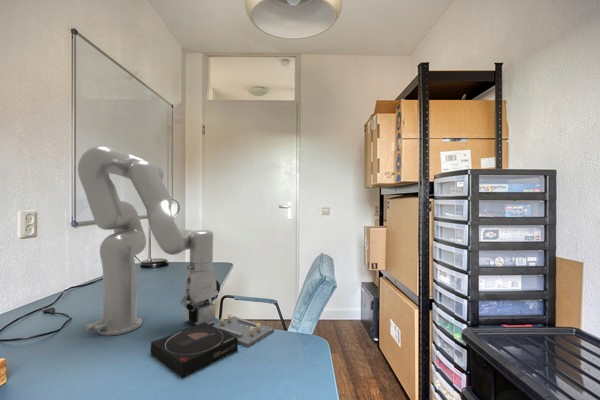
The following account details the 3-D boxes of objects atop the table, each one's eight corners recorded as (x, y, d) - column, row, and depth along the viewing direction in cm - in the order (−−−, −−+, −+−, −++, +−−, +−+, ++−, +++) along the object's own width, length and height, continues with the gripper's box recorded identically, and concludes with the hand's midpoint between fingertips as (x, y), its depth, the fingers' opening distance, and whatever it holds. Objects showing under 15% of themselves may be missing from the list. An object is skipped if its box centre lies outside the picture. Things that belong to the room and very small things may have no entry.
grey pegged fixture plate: (247, 347, 83) (247, 335, 83) (206, 332, 93) (206, 321, 93) (273, 331, 93) (273, 320, 93) (233, 319, 103) (233, 309, 103)
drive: (202, 327, 95) (202, 308, 95) (184, 319, 101) (185, 301, 101) (215, 322, 99) (215, 304, 99) (197, 314, 105) (197, 298, 105)
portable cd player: (203, 334, 93) (203, 321, 93) (237, 351, 82) (237, 337, 82) (150, 355, 80) (150, 341, 80) (182, 380, 69) (182, 363, 69)
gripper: (186, 272, 91) (185, 331, 91) (227, 263, 105) (226, 313, 105) (172, 269, 95) (170, 324, 95) (213, 260, 109) (212, 309, 109)
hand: (199, 318), depth 100 cm, fingers closed on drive, 5 cm apart
